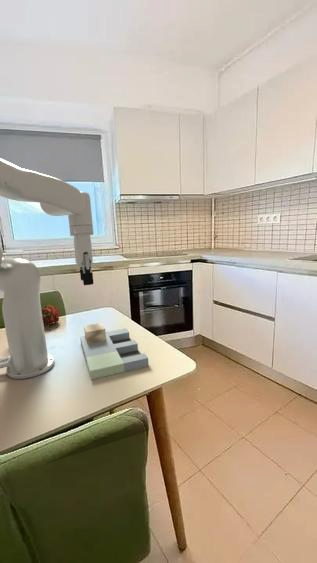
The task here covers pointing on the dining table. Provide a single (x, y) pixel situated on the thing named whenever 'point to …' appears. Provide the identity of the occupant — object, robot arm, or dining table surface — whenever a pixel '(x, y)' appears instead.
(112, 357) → the board
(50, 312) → the dragon fruit
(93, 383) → the dining table surface
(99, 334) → the block
